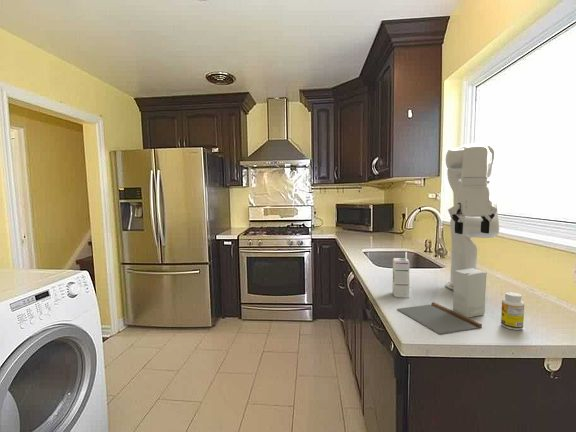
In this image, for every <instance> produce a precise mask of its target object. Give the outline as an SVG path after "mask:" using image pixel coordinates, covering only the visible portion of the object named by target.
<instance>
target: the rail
mask: <svg viewBox="0 0 576 432" xmlns="http://www.w3.org/2000/svg"><path fill="white" fill-rule="evenodd" d="M430 305H432V306H434V307H436V308H438V309H440V310H443V311H445V312H447V313H449V314H451V315H453V316H455V317H457V318H459V319H461V320H464V321H466V322H468V323H470V324H472V325H474V326H476V327H478V329H482V328H483V327H482V325H483V324H482V323H481V322H478V321H475V320H474V319H473V318H471V317H469V318H467V317H465V316H463V315H461V314H459V313H456V312H454V311H453V309H450V308H447V307H445V306H443V305H441V304H439V303H436V302H435V301H432V302H430Z"/></svg>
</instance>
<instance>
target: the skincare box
mask: <svg viewBox="0 0 576 432" xmlns="http://www.w3.org/2000/svg"><path fill="white" fill-rule="evenodd" d="M486 288H487V272H486V271H483V270H480V269H477V268H476V269H474V268H469V269H463V270H456V271H454V290H453V293H452V294H453V295H452V296H453V297H452V298H453V301H452V311H454V312H456V313H459V314H461V315H463V316H465V317H467V318H472V317H477V316H482V315H485V312H486V311H485V310H486V292H487V289H486Z"/></svg>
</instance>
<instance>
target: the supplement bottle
mask: <svg viewBox="0 0 576 432" xmlns="http://www.w3.org/2000/svg"><path fill="white" fill-rule="evenodd" d="M504 296H505V297H504V298H502V300H501V310H500V311H501V312H500V313H501V314H500V324H501V326H503V327H504V328H506V329H508V328H509V329H510V330H512V329H513V331H521V330H523V328H524V321H525V320H524V319H525V318H524V317H525V302H524V301H523V300H522V295H521V293H517V292H511V291H507V292H505V295H504ZM509 329H508V330H509Z"/></svg>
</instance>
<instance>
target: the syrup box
mask: <svg viewBox="0 0 576 432" xmlns="http://www.w3.org/2000/svg"><path fill="white" fill-rule="evenodd" d="M392 294H393V297H395V298H403V299H404V298H405V299H407V298H408V299H409V298H410V260H409V259H408V258H405V257H394V258H392Z"/></svg>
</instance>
